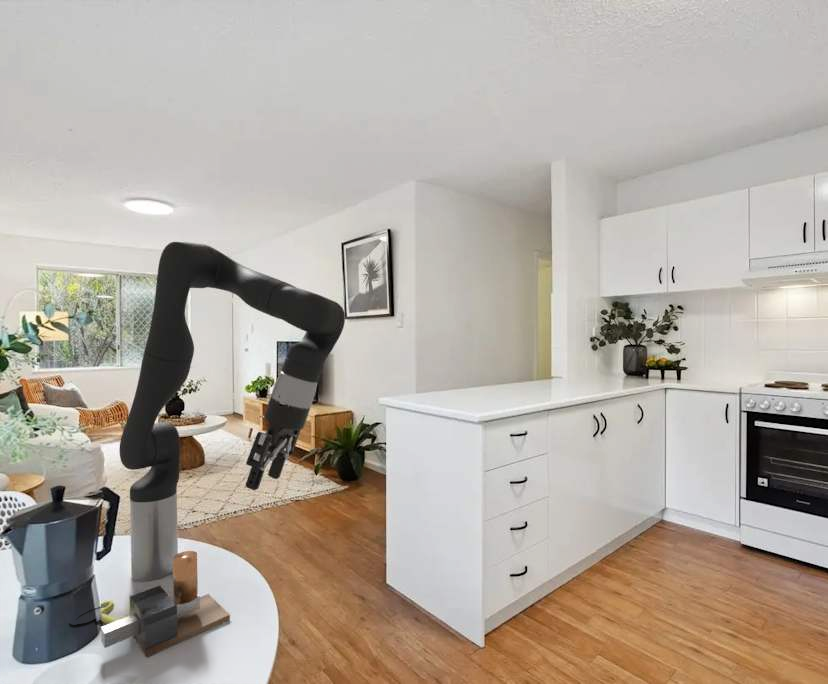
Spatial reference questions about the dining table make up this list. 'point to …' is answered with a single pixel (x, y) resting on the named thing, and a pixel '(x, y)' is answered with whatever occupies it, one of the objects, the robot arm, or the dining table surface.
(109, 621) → the key
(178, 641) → the base board
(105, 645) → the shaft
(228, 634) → the dining table surface
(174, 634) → the block
